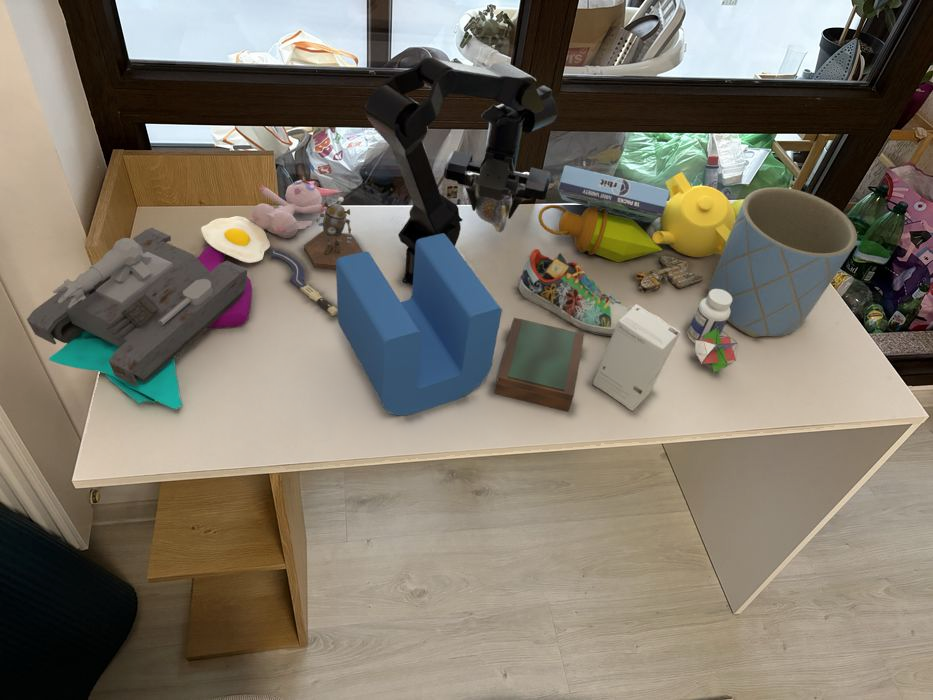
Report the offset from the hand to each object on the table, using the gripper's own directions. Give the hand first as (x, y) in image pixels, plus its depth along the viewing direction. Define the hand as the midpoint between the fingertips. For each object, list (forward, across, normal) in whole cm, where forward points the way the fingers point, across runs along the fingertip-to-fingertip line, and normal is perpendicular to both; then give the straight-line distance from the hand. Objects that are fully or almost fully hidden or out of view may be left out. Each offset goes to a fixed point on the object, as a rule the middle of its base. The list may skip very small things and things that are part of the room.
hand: (491, 213), depth 138 cm
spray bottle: (+7, -42, -27) cm, 50 cm away
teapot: (+5, +38, +14) cm, 41 cm away
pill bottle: (+7, +42, -13) cm, 44 cm away
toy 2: (+4, -39, -15) cm, 42 cm away
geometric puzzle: (+2, +45, -16) cm, 48 cm away
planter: (+6, +52, -2) cm, 52 cm away
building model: (+7, +35, +1) cm, 36 cm away
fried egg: (+4, -42, -18) cm, 46 cm away
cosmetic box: (+7, +29, -30) cm, 42 cm away
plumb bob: (+7, +21, +4) cm, 22 cm away
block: (+7, -5, -36) cm, 37 cm away
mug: (+2, +1, 0) cm, 2 cm away
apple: (+6, +49, +20) cm, 53 cm away
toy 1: (+4, -47, -41) cm, 62 cm away
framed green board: (+7, +15, -30) cm, 35 cm away
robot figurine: (+7, -26, -14) cm, 31 cm away
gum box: (+5, +22, +21) cm, 31 cm away
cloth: (+4, -46, -49) cm, 67 cm away
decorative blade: (+7, -27, -20) cm, 34 cm away
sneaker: (+7, +19, -14) cm, 24 cm away
